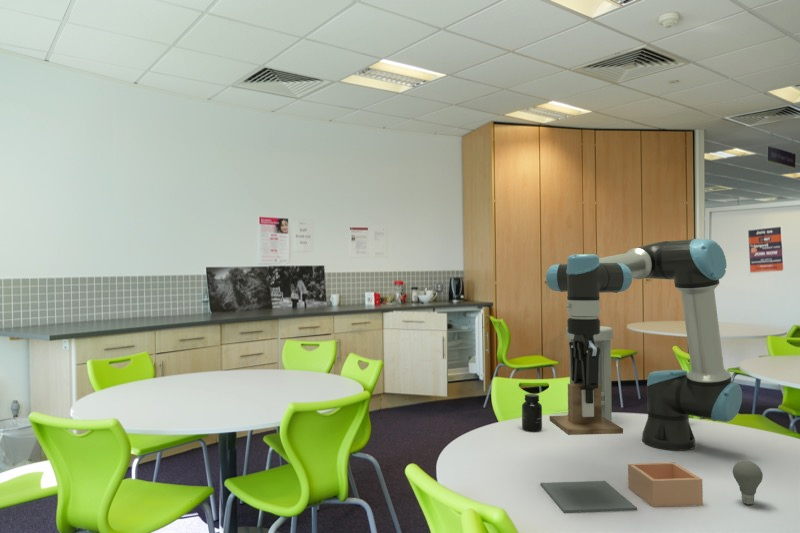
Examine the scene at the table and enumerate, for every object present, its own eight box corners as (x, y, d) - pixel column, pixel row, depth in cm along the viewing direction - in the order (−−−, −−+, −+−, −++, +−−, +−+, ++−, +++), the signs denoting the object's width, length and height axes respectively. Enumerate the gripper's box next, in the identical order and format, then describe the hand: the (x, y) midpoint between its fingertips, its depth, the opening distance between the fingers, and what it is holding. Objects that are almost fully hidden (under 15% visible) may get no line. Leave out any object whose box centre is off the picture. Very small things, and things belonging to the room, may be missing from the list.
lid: (599, 419, 143) (599, 379, 143) (623, 433, 130) (622, 389, 131) (549, 420, 142) (549, 380, 143) (568, 434, 129) (567, 390, 130)
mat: (605, 483, 145) (605, 480, 145) (637, 510, 128) (637, 507, 128) (540, 485, 144) (540, 482, 144) (564, 512, 127) (564, 510, 127)
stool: (563, 418, 211) (562, 325, 211) (605, 418, 210) (603, 325, 211) (574, 430, 195) (573, 329, 196) (619, 430, 195) (618, 329, 195)
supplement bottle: (542, 432, 192) (542, 397, 192) (522, 431, 194) (521, 396, 194) (541, 427, 199) (541, 393, 199) (521, 426, 200) (521, 392, 201)
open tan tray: (674, 486, 143) (673, 462, 143) (702, 505, 131) (702, 479, 131) (628, 487, 142) (628, 463, 142) (652, 507, 130) (652, 480, 130)
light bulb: (727, 499, 134) (726, 457, 134) (751, 498, 135) (750, 456, 135) (744, 509, 128) (744, 465, 128) (769, 508, 129) (768, 464, 129)
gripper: (556, 315, 145) (557, 407, 144) (581, 320, 129) (582, 423, 128) (585, 315, 145) (586, 406, 145) (613, 319, 129) (614, 422, 129)
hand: (584, 414), depth 136 cm, fingers closed on lid, 3 cm apart
